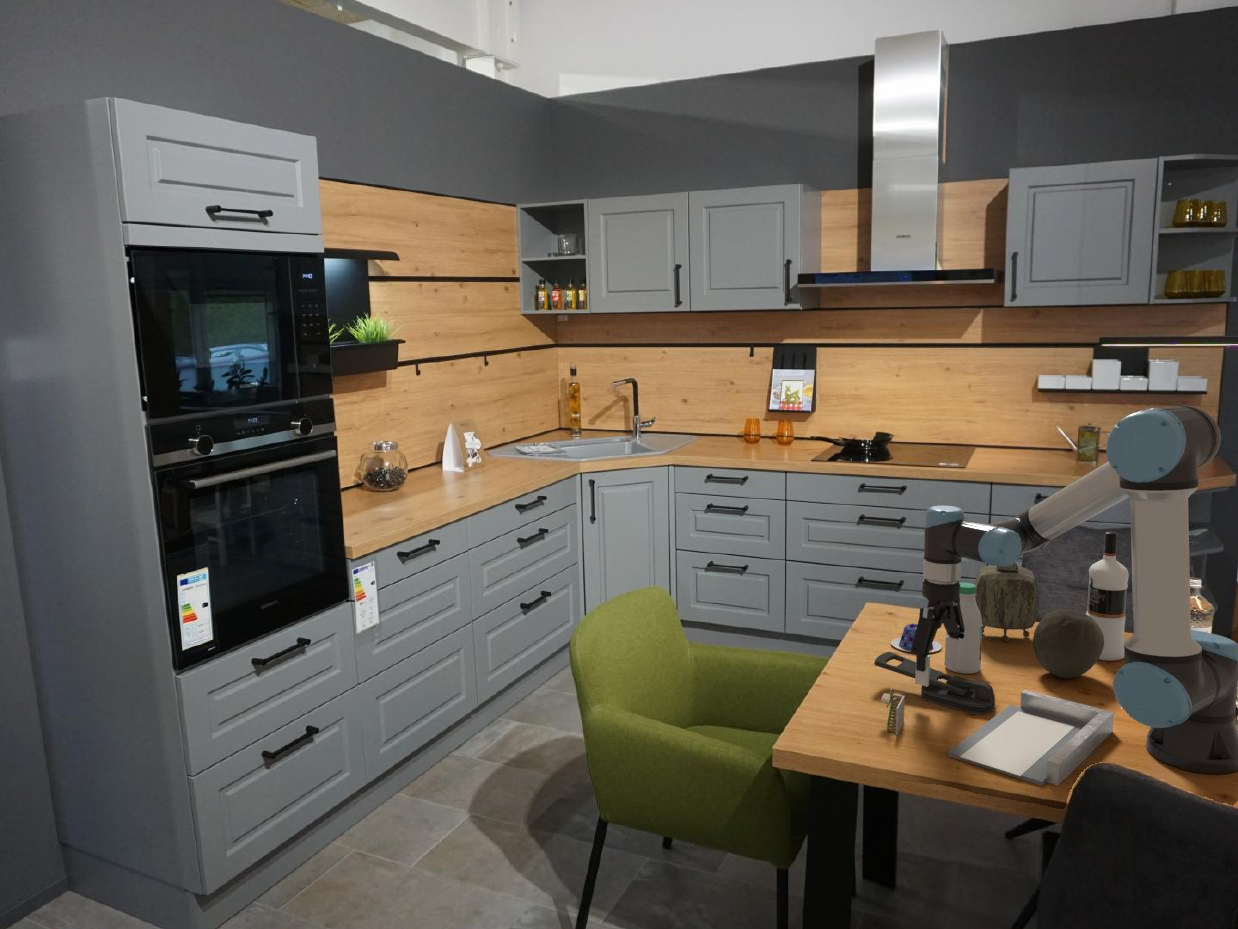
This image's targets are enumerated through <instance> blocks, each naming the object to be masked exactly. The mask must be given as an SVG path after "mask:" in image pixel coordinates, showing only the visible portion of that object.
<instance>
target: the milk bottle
mask: <svg viewBox="0 0 1238 929" xmlns="http://www.w3.org/2000/svg"><path fill="white" fill-rule="evenodd" d="M976 591H977V587H976V585H975V583H971V582H960V608H961V613H962V618H963V623H964V628H965V631H964V633H962V634H964V638H963V639H961V638H959V653H958V668H952V667H948V666H945V667H946V669H948V671H951V672H954V673H957V674H965V675H966V674H976V673H979V671H980V670H981V669H982V668H981V667H982V666H981V664H982V648H983V647H982V646H983V644H982V641H983V633H982V626H983V625H982V618H981V614H980V611H979V609H978V607H977V604H976V600H975V596H976ZM958 626H959V625H958ZM945 632H946V633H945V634H946V635H945V638H946V637H947V636H948V637H950V636H949V635H948V633H947V631H946V630H945Z"/></svg>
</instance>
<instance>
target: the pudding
mask: <svg viewBox="0 0 1238 929" xmlns="http://www.w3.org/2000/svg"><path fill="white" fill-rule="evenodd" d="M917 624H918V623H909V624H906V625H905V626H904V628H903V630H902V634H901V636H900V637H895V638H893V639H892V640H891V641H890V643H891V645H892V646H893V648H896V649H897V650H900V651H903V652H909V653H911V648H912V644H913V640H914V636H915V632H916V628H917ZM942 647H943V645H942V644H941V643H940V642H939V641H937V640H935V639H934V640H933V643H932V646H931V648H930V651H929V654H930V653H934V652H937V651H940V650H941V649H942Z"/></svg>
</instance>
